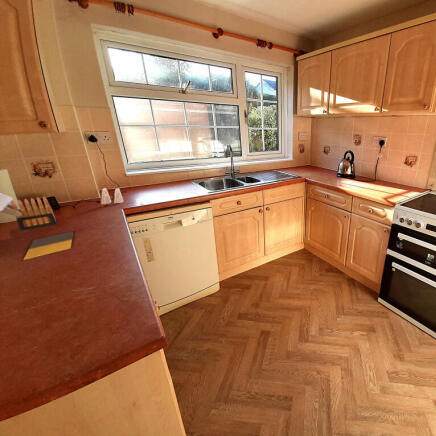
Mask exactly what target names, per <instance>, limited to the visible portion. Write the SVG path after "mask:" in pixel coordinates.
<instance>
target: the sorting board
mask: <svg viewBox="0 0 436 436" xmlns="http://www.w3.org/2000/svg"><path fill="white" fill-rule="evenodd" d="M74 232H75V231H69V232H68V231H67V232H64V233H60V234H59V233H58V234H54V235H50V236H47V237H41V238H37V239H34V240H32V242H31V245H29V248H28V250H27V252H26V253H25V256H24V258H23V259H22V260H23V261H25V260H30V259H35V258H37V257H42V256H45V255H49V254H55V253H57V252H61V251H62V252H63V251H66V250H69V249H72V241H73V237H74Z"/></svg>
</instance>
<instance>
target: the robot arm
mask: <svg viewBox="0 0 436 436" xmlns="http://www.w3.org/2000/svg"><path fill="white" fill-rule="evenodd" d="M11 201H14V197H12V196H10V195H7V194H4V193H2V192H0V214H4V215H10V216H15V217H16V216H17V217H20V216H21V215H22V212H21V211H20V208H19V206H17V208H18V209H19V211H18V210H17V211H16V210H13V208H12V205H11Z"/></svg>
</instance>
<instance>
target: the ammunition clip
mask: <svg viewBox="0 0 436 436" xmlns="http://www.w3.org/2000/svg"><path fill="white" fill-rule="evenodd" d="M30 202H31V204H30ZM30 202H29V201H28V199H27V198H24V204H23V202H22V201H21V200H20V199H18V200H17V204H16V202H15V201H14V200H13V201H11V203H10V204H11V205H12V208H13V210H16V211H17V210H18V211H19V209H18V208H20V211H21V212H22V214H21V216H20V217H17V216H15V219H16V223H17V225H18V227H19V230H20V232H23V231H27V230H29V231H30V230H34V229H39V228H46V227H51V226H57V225H58V220H57V218H56V216H55V214H54V212H53V209H52V207H51V205H50V203H49V201H48V199H47V198H46V196H43V197H42V200H41V198H40V197H39V196H38V197H36V201H35V200H34V198H33V197H31V198H30ZM36 202H37V203H36ZM17 205H18V206H17ZM24 205H25V206H24ZM17 207H18V208H17Z"/></svg>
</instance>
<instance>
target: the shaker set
mask: <svg viewBox="0 0 436 436" xmlns="http://www.w3.org/2000/svg"><path fill="white" fill-rule="evenodd" d="M122 195H123V194H122V193H121V190H120V188H119V187H117V188H115V190H114V200H113V201H114V202H113V204H122V203H123V202H125V201H124V197H123V196H122ZM111 203H112V200H111V197H110V194H109V191H108V189H107V188H106V187H103V188H102V190H101V200H100V204H101V205H103V206H108V205H111Z"/></svg>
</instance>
